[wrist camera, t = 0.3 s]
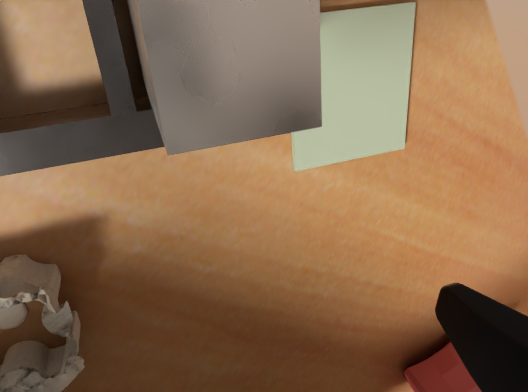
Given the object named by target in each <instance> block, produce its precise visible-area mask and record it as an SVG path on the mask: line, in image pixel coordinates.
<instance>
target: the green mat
mask: <svg viewBox="0 0 528 392" xmlns="http://www.w3.org/2000/svg"><path fill="white" fill-rule="evenodd" d="M415 6H416V2H406V3H397V4H389V5H380V6H371V7H362V8H354V9H345V10H336V11H328V12H320V46H321V100H322V127H318V128H313V129H307V130H302V131H297V132H291V138H292V157H293V169H294V170H295V171H300V170H305V169H309V168H314V167H319V166H324V165H328V164H333V163H338V162H343V161H348V160H352V159H357V158H362V157H367V156H371V155H376V154H381V153H386V152H391V151H395V150H400V149H405V136H406V123H407V110H408V97H409V84H410V71H411V58H412V45H413V32H414V19H415Z"/></svg>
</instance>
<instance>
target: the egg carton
mask: <svg viewBox="0 0 528 392" xmlns="http://www.w3.org/2000/svg"><path fill="white" fill-rule="evenodd" d="M60 281H61V274H60V272H59V269H58V267H57V265H56V264H42V263H38V262H35V261H33V260H31V259H30V258H29V257H28V256H27V255H25V254H17V255H12V256H9V257H5V258H4V259H3V260H2V262H1V263H0V330H2V329H13V328H16V327H18V326H19V325H21V324H22V323H23V322H24V321H25V319H26V317H27V315H28V308H27V306H26V304H25V303H24V302H30V301H31V300H32V301H34V300H36V301H40V302H41V303H43V304H44V307H43V311H42V324H43V326H44V327H45V328H46V329H47V330H48V331H50V332H51V333H52V334H56V335H59V336H62V337H67V339H66V345H63V346H61V347H57V348H53V349H49V348H48V347H47V346H46V345H45V344H43V343H41V342H38V341H32V340H28V341H21V342H18V343H16V344H14V345H13V346H11V347H10V348H9V349H8V350H7V352H6V354H5V357H4V361H3V364H1V365H0V392H61V391H62V390H64V389H65V388H66V387H67V386H68V385H69V384H70V383H71V382H72V381H73V380H74V379H75V377H76V376H77V375H78V374H79V373H80V372H81V371H82V370H83V369H84V366H85V362H84V359H82V358H81V357H78V353H79V339H80V328H81V323H80V320H79V317H78V313H77V312H76V311H71V310H70V307H69V304H68V301H65V302H64V303H63V304H61V305H59V303H58V293H59V289H60V285H61V284H60ZM62 337H61V338H62Z"/></svg>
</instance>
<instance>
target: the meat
mask: <svg viewBox="0 0 528 392" xmlns="http://www.w3.org/2000/svg"><path fill="white" fill-rule="evenodd" d="M403 373H404V375H405V377H406V379H407V380H408V382H409V384H410V386H411V387H412V389H413V391H414V392H482V391H481V390H480V389H479V387H478V386H477V384H476V383H475V381H474V380H473V378H472V377H471V376H470V374H469V372H468V371H467V369H466V367H465V366H464V364H463V362H462V361H461V359H460V357H459V355H458V354H457V352H456V350H455V348H454V347H453V345H452V343H451V342H450V341H449V342H448V343H447V344H446V345H445V346H444V347H443V348H442V349H441V350H439V351H438V352H436V353H435V354H433V355H432V356H430V357H429V358H427V359H426V360H424V361H422V362H420V363H418V364H415V365H413V366H411V367H408V368H406V369H405V371H404V372H403Z"/></svg>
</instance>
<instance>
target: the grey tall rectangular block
mask: <svg viewBox="0 0 528 392" xmlns="http://www.w3.org/2000/svg"><path fill="white" fill-rule="evenodd" d="M127 3H128V8H129V13H130V18H131V22H132V27H133V32H134V37H135V42H136V46H137V51H138V56H139V61H140V65H141V70H142V75H143V80H144V84H145V87H146V90H147V94H148V97H149V100H150V103H151V106H152V109H153V112H154V115H155V118H156V121H157V124H158V127H159V130H160V134H161V137H162V140H163V143H164V146H165V149H166V152H167V155H173V154H178V153H183V152H189V151H194V150H200V149H205V148H210V147H216V146H221V145H227V144H232V143H237V142H243V141H248V140H254V139H259V138H264V137H270V136H275V135H280V134H286V133H291V132H297V131H302V130H307V129H313V128H318V127H322V100H321V46H320V0H127Z"/></svg>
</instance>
